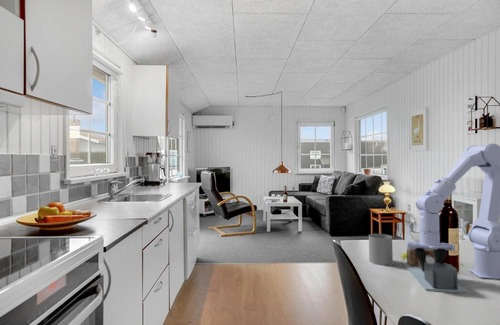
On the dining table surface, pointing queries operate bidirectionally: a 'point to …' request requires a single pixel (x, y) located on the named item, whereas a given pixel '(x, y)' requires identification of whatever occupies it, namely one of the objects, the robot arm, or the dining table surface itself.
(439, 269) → the sleeve
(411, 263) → the socket
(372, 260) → the cup
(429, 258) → the bar
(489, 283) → the dining table surface
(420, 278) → the board
